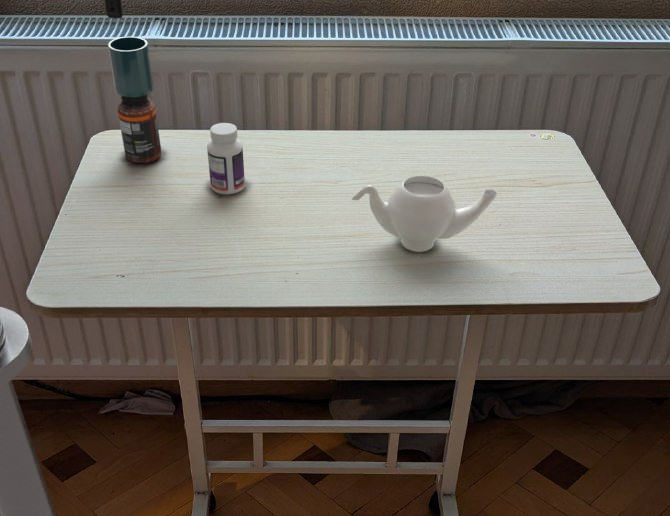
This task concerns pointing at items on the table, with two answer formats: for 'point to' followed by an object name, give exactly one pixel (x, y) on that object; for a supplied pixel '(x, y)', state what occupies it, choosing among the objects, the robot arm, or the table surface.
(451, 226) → the teapot
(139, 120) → the supplement bottle
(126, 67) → the cup
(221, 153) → the pill bottle
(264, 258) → the table surface
